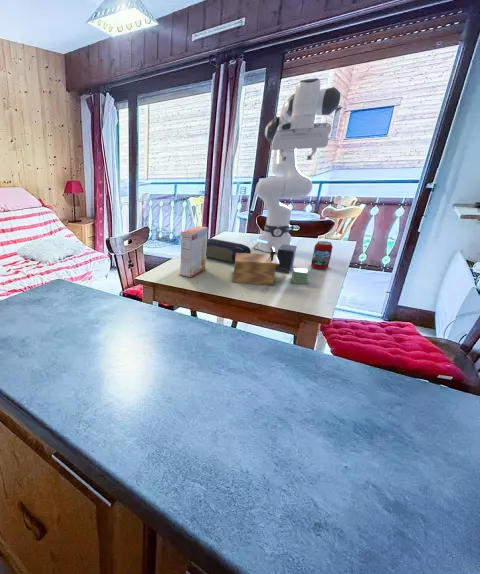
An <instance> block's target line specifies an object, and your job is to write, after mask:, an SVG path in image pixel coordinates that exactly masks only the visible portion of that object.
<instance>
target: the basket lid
mask: <svg viewBox="0 0 480 574" xmlns="http://www.w3.org/2000/svg"><path fill="white" fill-rule="evenodd" d="M269 253H270V254H268V253H267V254H266V253H251V254H249V253H236V256H235V263H248V264H264V265H279V261H278V258H277V253H276V252H275V249H274V247H271V248H270V252H269ZM235 263H234V264H235Z"/></svg>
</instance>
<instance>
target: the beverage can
mask: <svg viewBox="0 0 480 574" xmlns="http://www.w3.org/2000/svg"><path fill="white" fill-rule="evenodd" d="M332 251H333V244H332V242H330V241H326V240H325V241H324V240H321V241H317V242H316V244H315V245H314V247H313V252H312V258H311V264H310V266H311V267H312V268H313V269H316V270H325V269H328V268H329V265H330V260H331V257H332V253H333V252H332Z"/></svg>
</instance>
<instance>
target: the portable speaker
mask: <svg viewBox="0 0 480 574" xmlns="http://www.w3.org/2000/svg"><path fill="white" fill-rule="evenodd" d="M236 253H249V254H252V251H251V248H250V247H249V246H248V245H246V244H243V243H238V242H233V241H227V240H224V239H223V240H222V239H216V238H207V246H206V258H212V259H215V260H219V261H224V262H228V263H233V264H235V255H236Z"/></svg>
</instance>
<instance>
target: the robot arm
mask: <svg viewBox="0 0 480 574" xmlns="http://www.w3.org/2000/svg"><path fill="white" fill-rule="evenodd" d="M340 102H341V92H340V90H338V88H336V87H335V86H334V87H328V88H323V89H321V79H319V78H318V77H317V78H306V79H302V80H300V81H298V82H297V85H296V88H295V91H294V93H292V95H290V96H289V97H288V98H287V100H286V101H285V102H284V103H283V105H282V107H281V108H280V109H281V111H280V116H277V115H276V116H274V118H272V119H271V120H269V122H268V123H267V125H266V126H265V129H264V136H265V139H266V140H267V141H268V142H269V141H270V142H271V146H270V147H271V148H270V149H271V150H272V151H273V155H272V167H271V171H272V174H273V175H274V176H268V177H264V178H261V179H260V180H259V181H258V182H257V183H256V184H255V185H256V186H255V194H256V195H257V197H258V198H260V199H261V201H263V203H264V204H265V207H266V221H265V224H264V228H263V230H264V231H263V232H262V233H261V234H260V235H259V236H258V239H257V244H256V245H255V246H254V249H255V250H260V251H261V252H265V253H270V248H271V247H274V249H275V252H276V253H275V254H277V253H278V249H279V248H280V247H281V245H282V244H286V245H292V244H293V243H292V242H291V241H292V235H291V234H290V233H289V232H290V230H291V229H290V228H291V224H290V222H291V221H290V220H291V215H292V209H291V208H290V207H289V206H287V205H286V204H283V203H282V202H281V201H280V200H281V199H298V198H304V197H305V198H306V197H307V196H308V195H310V193H311V192H312V190H313V181H312V179H311V178H310V177H308V176H307V175H304V174H303V173H302V172H301V171H300V170H299V169H298V166H297V165H298V164H297V150H302V149H310V150H311V153H310V154H309V155H307V156H306V161H312V159H313V156H314V155H315V154H316V152H317V150H318V149H320V148H321V149H323V148H326V147H327V146H328V144H329V134H330V133H331V131H332V124H330V123H328V122H316V118H317V116H319V117H320V116H330V115H331V114H333V113H335V111H337V109H338V107H339V105H340Z"/></svg>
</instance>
